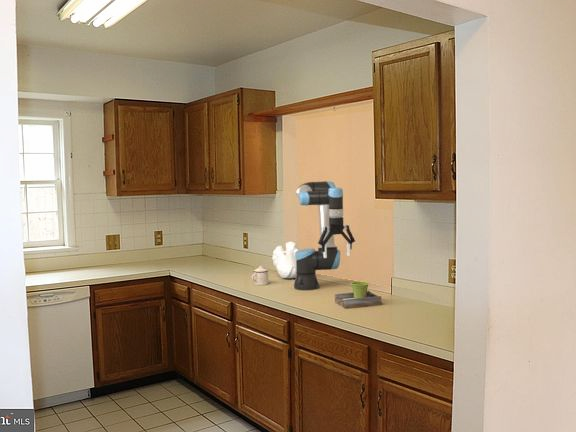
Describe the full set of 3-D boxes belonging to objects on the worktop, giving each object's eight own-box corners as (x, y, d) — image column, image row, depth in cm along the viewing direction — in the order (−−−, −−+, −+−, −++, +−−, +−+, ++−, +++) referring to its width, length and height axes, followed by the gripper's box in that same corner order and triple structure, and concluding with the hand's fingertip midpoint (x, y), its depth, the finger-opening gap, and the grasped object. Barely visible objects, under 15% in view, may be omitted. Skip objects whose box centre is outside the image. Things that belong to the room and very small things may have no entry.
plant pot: (357, 296, 290) (357, 280, 290) (372, 298, 284) (372, 282, 283) (347, 299, 283) (347, 283, 283) (362, 302, 277) (362, 285, 277)
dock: (335, 302, 287) (334, 294, 287) (369, 299, 293) (369, 290, 292) (345, 308, 273) (345, 300, 273) (381, 304, 279) (381, 296, 279)
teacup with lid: (262, 282, 350) (261, 264, 349) (271, 283, 343) (270, 265, 342) (247, 285, 342) (247, 266, 341) (256, 286, 335) (256, 268, 334)
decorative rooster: (307, 278, 356) (306, 241, 354) (287, 281, 348) (286, 243, 346) (288, 273, 378) (287, 238, 376) (268, 276, 369) (267, 240, 368)
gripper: (316, 219, 278) (317, 259, 280) (360, 216, 285) (361, 255, 287) (311, 217, 285) (312, 257, 287) (354, 214, 292) (355, 253, 294)
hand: (337, 256), depth 287 cm, fingers open, 13 cm apart
